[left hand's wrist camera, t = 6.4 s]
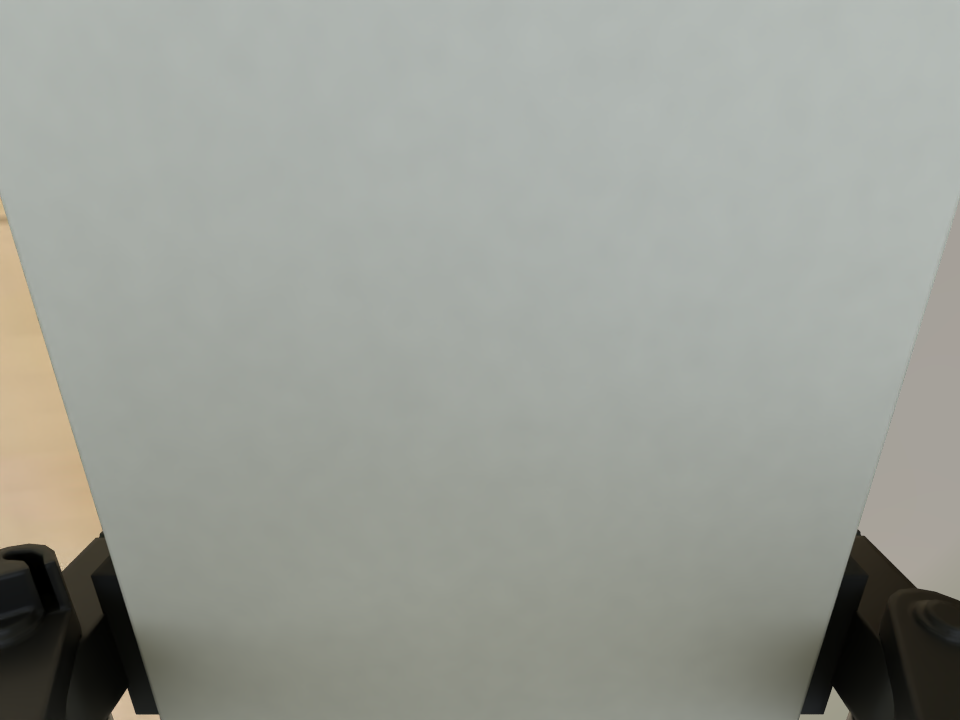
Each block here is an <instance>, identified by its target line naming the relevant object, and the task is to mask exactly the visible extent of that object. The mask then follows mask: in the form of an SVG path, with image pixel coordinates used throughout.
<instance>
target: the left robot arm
mask: <svg viewBox="0 0 960 720" xmlns="http://www.w3.org/2000/svg"><path fill="white" fill-rule="evenodd" d="M832 687H834V688H835V690H836V691H837V693H838V694H839V696H840V697H841V699H842V700H843V702H844V703H845V705H846V707H847V708H848V709H849V714H848V717H847V720H960V601H959V600H956V599H954V598H951V597H948V596H945V595H943V594H940V593H937V592H934V591H928V590H923V589H917V588H916V587H915V586H914V585H913V584H912V583H911V582H910V581H909V580H908V579H907V578H906V577H905V576H904V575H903V574H902V573H901V572H900V571H899V570H898V569H897V568H896V567H895V566H894V565H893V564H892V563H891V562H890V561H889V560H888V559H887V558H886V557H885V556H884V555H883V554H882V553H881V552H880V551H879V550H878V549H877V548H876V547H875V546H874V545H873V544H872V543H871V542H870V541H869V540H868V539H867V538H866V537H865V536H861V534H860V531H859V530H857V533H856V536H855V539H854V542H853V546H852V549H851V552H850V555H849V559H848V562H847V565H846V568H845V572H844V575H843V578H842V581H841V585H840V588H839V591H838V594H837V597H836V601H835V604H834V607H833V610H832V614H831V617H830V620H829V623H828V627H827V630H826V633H825V636H824V639H823V643H822V646H821V649H820V652H819V656H818V659H817V662H816V665H815V669H814V672H813V675H812V678H811V682H810V685H809V688H808V691H807V694H806V698H805V701H804V704H803V707H802V711H801V714H824V711H825V708H826V705H827V702H828V699H829V696H830V693H831V690H832ZM127 688H128V691H129V694H130V697H131V700H132V703H133V707H134V710H135V713H136V714H159V712H158V709H157V706H156V703H155V699H154V696H153V693H152V690H151V686H150V683H149V680H148V677H147V673H146V670H145V667H144V663H143V660H142V657H141V654H140V650H139V647H138V644H137V641H136V637H135V634H134V631H133V628H132V624H131V621H130V618H129V614H128V611H127V608H126V605H125V601H124V598H123V595H122V592H121V588H120V585H119V582H118V579H117V575H116V572H115V569H114V565H113V562H112V559H111V556H110V552H109V549H108V546H107V543H106V539H105V536H104V533H103V531H102V532H101V533H100V537H99V538H95V539H94V540H93V541H92V542H91V543H90V544H89V545H88V546H87V547H86V548H85V549H84V550H83V551H82V552H81V553H80V554H79V555H78V556H77V557H76V558H75V559H74V560H73V561H72V562H71V563H70V564H69V565H68V566H67V567H66V568H65V569H64V570H63V571H62V572H61V569H60V566H59V563H58V560H57V557H56V554H55V552H54V551H53V550H52V549H50V548H49V547H47V546H46V545H38V544H24V545H18V546H11V547H6V548H3V549H0V720H114V719H113V717H112V714H111V712H112V710H113V709H114V707H115V706H116V704H117V703H118V701H119V700H120V698H121V697H122V695H123V694H124V692H125V691H126V689H127Z"/></svg>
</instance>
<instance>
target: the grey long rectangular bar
mask: <svg viewBox="0 0 960 720" xmlns="http://www.w3.org/2000/svg"><path fill="white" fill-rule="evenodd" d="M0 196H1V200H2V203H3V206H4V210H5V213H6V216H7V219H8V223H9V226H10V229H11V232H12V236H13V239H14V242H15V245H16V249H17V252H18V255H19V259H20V262H21V265H22V268H23V272H24V275H25V278H26V281H27V285H28V288H29V291H30V294H31V298H32V301H33V304H34V308H35V311H36V314H37V317H38V321H39V324H40V327H41V330H42V334H43V337H44V340H45V343H46V347H47V350H48V353H49V356H50V360H51V363H52V366H53V370H54V373H55V376H56V379H57V383H58V386H59V389H60V392H61V396H62V399H63V402H64V405H65V409H66V412H67V415H68V419H69V422H70V425H71V428H72V432H73V435H74V438H75V441H76V445H77V448H78V451H79V454H80V458H81V461H82V464H83V468H84V471H85V474H86V477H87V481H88V484H89V487H90V490H91V494H92V497H93V500H94V503H95V507H96V510H97V513H98V516H99V520H100V523H101V526H102V530H103V533H104V536H105V539H106V543H107V546H108V549H109V552H110V556H111V559H112V562H113V565H114V569H115V572H116V575H117V579H118V582H119V585H120V588H121V592H122V595H123V598H124V601H125V605H126V608H127V611H128V614H129V618H130V621H131V624H132V628H133V631H134V634H135V637H136V641H137V644H138V647H139V650H140V654H141V657H142V660H143V663H144V667H145V670H146V673H147V677H148V680H149V683H150V686H151V690H152V693H153V696H154V699H155V703H156V706H157V709H158V712H159V716H160V719H161V720H799V717H800V714H801V711H802V707H803V704H804V701H805V698H806V694H807V691H808V688H809V685H810V682H811V678H812V675H813V672H814V669H815V665H816V662H817V659H818V656H819V652H820V649H821V646H822V643H823V639H824V636H825V633H826V630H827V627H828V623H829V620H830V617H831V614H832V610H833V607H834V604H835V601H836V597H837V594H838V591H839V588H840V585H841V581H842V578H843V575H844V572H845V568H846V565H847V562H848V559H849V555H850V552H851V549H852V546H853V542H854V539H855V536H856V533H857V530H858V526H859V523H860V520H861V517H862V513H863V510H864V507H865V504H866V500H867V497H868V494H869V491H870V487H871V484H872V481H873V478H874V475H875V471H876V468H877V465H878V462H879V458H880V455H881V452H882V449H883V445H884V442H885V439H886V436H887V432H888V429H889V426H890V423H891V419H892V416H893V413H894V410H895V407H896V403H897V400H898V397H899V394H900V391H901V387H902V384H903V381H904V378H905V374H906V371H907V368H908V364H909V361H910V358H911V355H912V352H913V348H914V345H915V342H916V339H917V336H918V332H919V329H920V326H921V323H922V319H923V316H924V313H925V310H926V306H927V303H928V300H929V297H930V294H931V290H932V287H933V284H934V281H935V277H936V274H937V271H938V267H939V264H940V261H941V258H942V255H943V251H944V248H945V245H946V242H947V238H948V235H949V232H950V229H951V225H952V222H953V219H954V216H955V213H956V209H957V206H958V203H959V200H960V0H0Z"/></svg>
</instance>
